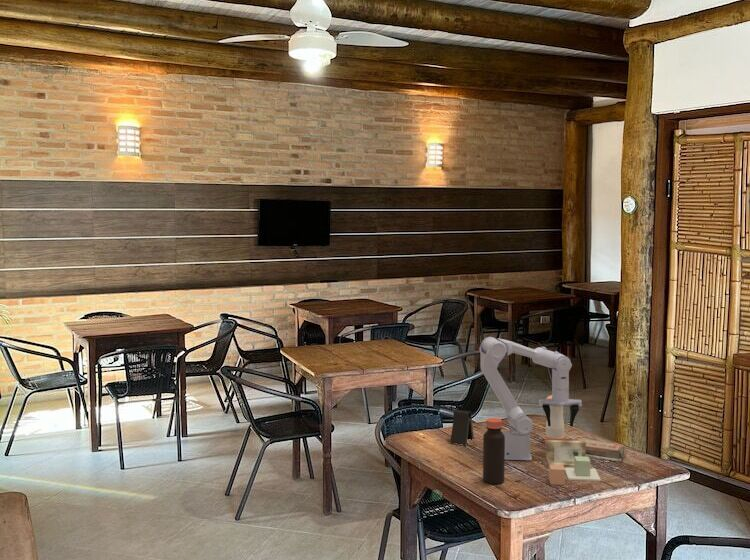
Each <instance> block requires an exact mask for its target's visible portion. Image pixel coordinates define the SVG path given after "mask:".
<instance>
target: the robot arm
mask: <svg viewBox="0 0 750 560" xmlns="http://www.w3.org/2000/svg"><path fill="white" fill-rule="evenodd" d="M478 349H479V353H480V354H479V355H480V356H479V357H480V371H481V372H482V374H483V375H484V376H483V377H484V378H485V379H486V381H487V383H488V384H489V385H490V388H491V389H492V390H493V393H494V394H495V395H496V398H497V399H498V401H499V402H500V404H501V406H502V407H503V409H504V412H505V415H506V417H507V419H506V421H507V424H508V425H509V426H510V427H509V430H508V431H503V434H504V436H505V461H506V460H510V461H533V457H532V454H531V431H533V428H534V423H533V420H532V419H531V418H530V417H528V416H527V415H526V414H525V412H524V411H523V410H522V408H521V407H520V406H519V404H518V402H517V401H516V399H515V398H514V396H513V394H512V392H511V391H510V389H509V387H508V385H507V384H506V381H505V380H504V379H503V377H502V375H501V373H500V372H499V371H498V367H499V365H500V363H501V361H502V360H503V359H504V358H505V356H510V355H512V354H516V355H520V356H523V357H527V358H530V359H532V362H533V363H534V364H537V365H540V366H543V367H545V368H546V367H547V368H550V369H551V395H552V399H546V398H545V399H544V398H543V399H542V398H541V399H540V398H539V400H538V405H539V407H541V408H542V409H543V412H544V413H545V416H546V422H548V426H550V425H551V423H550V406H563V407H569V413H570V414H569V415H570V416H569V425H570V428H573V426H574V422H575V419H576V417H577V414H578V412H579V411H580V407H582V406H583V404H582V403H583V401H582V399H575V398H573V399H572V398H570V393H569V392H570V378H569V377H570V374H569V373H570V371H571V368H572V367H573V363H572V362H571V359H570V358H569V357H568V356H566V355H564V354H563V353H560V352H559V351H557V350H555V351H552V350H548V349H547V347H545V346H541V347H540V346H539V347H536V348H531V347H527V346H525V345H522V344H520V343H517V342H514V341H512V340H508V339H503V338H500V337H499V338H496V337H493V336H486V337H485V338H484V339H483V340H482V341H481V344H480V346H479V348H478Z"/></svg>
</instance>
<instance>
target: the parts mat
mask: <svg viewBox="0 0 750 560" xmlns="http://www.w3.org/2000/svg"><path fill="white" fill-rule="evenodd" d="M564 468H565V467H564ZM565 476H566V477H567V480H568V481H580V482H583V481H584V482H601V481H602V480H601V479H602V478H601V477H600V476H599V473H598V471H597V469H596V468H593V467H592V468H591V467H590V476H576V474H575V471H574V468H565Z"/></svg>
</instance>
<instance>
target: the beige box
mask: <svg viewBox="0 0 750 560" xmlns="http://www.w3.org/2000/svg"><path fill="white" fill-rule="evenodd" d="M553 444H571V445H580V446H581V448H582V457H585V454H586V442H585V441H577V440H565V441H562V440H547V442H546V445H545V447H546V450H545V456H546V457H545V459H546V463H547V464H546V465H547V466H548V468H549V465H563V466H564V467H565V468H574V463H558V462H554V460H553Z"/></svg>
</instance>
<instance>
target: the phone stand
mask: <svg viewBox="0 0 750 560" xmlns="http://www.w3.org/2000/svg"><path fill="white" fill-rule="evenodd" d="M473 428H474V427H473V422H472V410H464V409H457V408H456V409H454V410H453V419H452V428H451V435H450V442H451V443H457V444H463V445H466V444H467V439H471V440H472V439H474V440H475V436H474V429H473ZM450 442H449V443H450ZM466 446H467V445H466Z"/></svg>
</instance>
